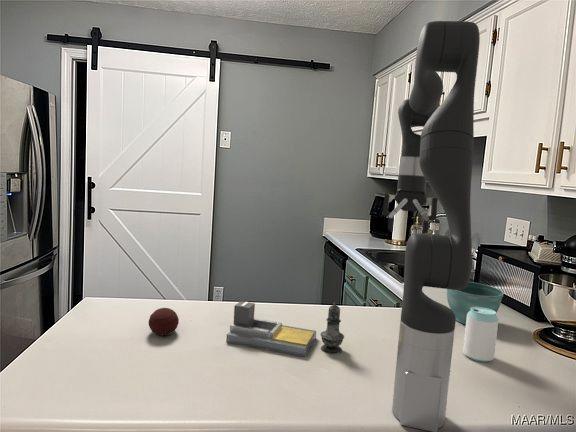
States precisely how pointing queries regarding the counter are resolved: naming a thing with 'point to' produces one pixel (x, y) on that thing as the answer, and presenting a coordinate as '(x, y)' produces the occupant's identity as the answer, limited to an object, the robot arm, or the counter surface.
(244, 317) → the block
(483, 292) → the teal bowl
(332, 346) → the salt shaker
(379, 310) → the counter surface
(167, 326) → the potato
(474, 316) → the can
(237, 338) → the board
